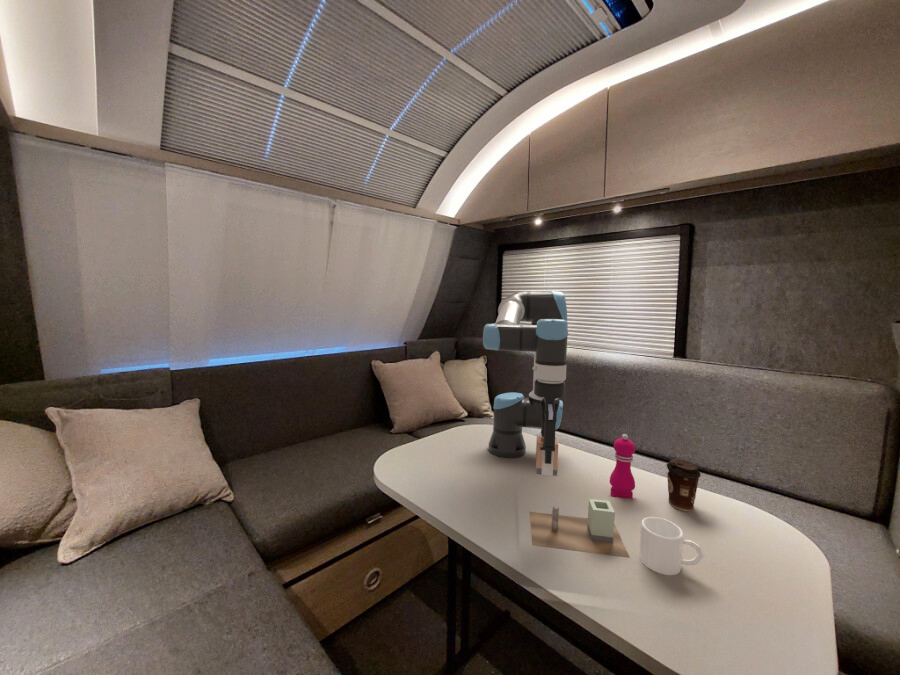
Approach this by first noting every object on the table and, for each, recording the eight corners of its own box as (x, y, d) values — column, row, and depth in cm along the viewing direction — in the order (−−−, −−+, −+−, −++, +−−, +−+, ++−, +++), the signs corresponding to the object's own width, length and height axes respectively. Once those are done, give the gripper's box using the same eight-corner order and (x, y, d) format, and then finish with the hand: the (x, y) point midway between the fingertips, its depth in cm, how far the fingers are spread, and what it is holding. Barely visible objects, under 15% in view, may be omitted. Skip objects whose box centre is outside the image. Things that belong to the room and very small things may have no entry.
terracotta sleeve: (535, 465, 94) (536, 436, 93) (555, 467, 93) (556, 437, 92) (536, 473, 89) (537, 443, 88) (557, 476, 88) (558, 444, 87)
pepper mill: (637, 503, 107) (641, 439, 105) (611, 500, 108) (615, 437, 106) (630, 491, 114) (634, 431, 112) (606, 488, 115) (609, 429, 113)
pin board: (529, 516, 99) (530, 491, 98) (612, 526, 95) (614, 499, 95) (532, 550, 85) (533, 521, 85) (629, 563, 82) (631, 532, 81)
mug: (700, 597, 72) (704, 552, 72) (635, 569, 80) (638, 528, 79) (703, 574, 79) (706, 532, 78) (642, 550, 86) (645, 512, 85)
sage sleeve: (587, 528, 92) (588, 498, 91) (607, 530, 91) (609, 500, 91) (591, 540, 87) (593, 509, 86) (613, 543, 86) (614, 512, 86)
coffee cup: (660, 504, 106) (663, 463, 105) (666, 494, 112) (669, 454, 111) (695, 517, 100) (698, 473, 99) (699, 505, 106) (703, 463, 105)
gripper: (533, 373, 98) (530, 453, 100) (535, 387, 81) (532, 484, 83) (561, 374, 97) (557, 456, 99) (570, 389, 79) (565, 488, 81)
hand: (546, 469), depth 91 cm, fingers closed on terracotta sleeve, 5 cm apart
